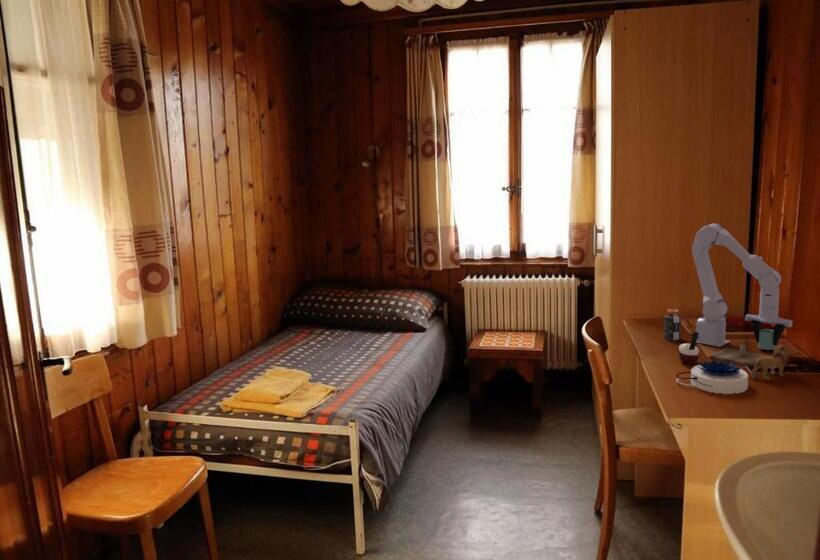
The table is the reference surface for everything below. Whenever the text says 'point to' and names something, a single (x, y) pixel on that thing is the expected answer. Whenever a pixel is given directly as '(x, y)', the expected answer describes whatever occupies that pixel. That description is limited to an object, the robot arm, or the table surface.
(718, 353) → the roll stand
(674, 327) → the pill bottle
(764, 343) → the grey-green cylinder
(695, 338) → the cocoa
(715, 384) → the white round gift box
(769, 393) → the table surface
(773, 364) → the lion figurine
